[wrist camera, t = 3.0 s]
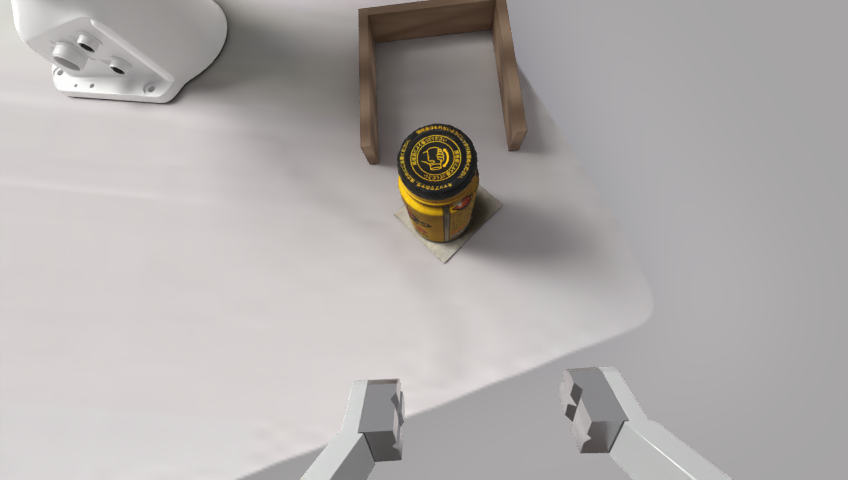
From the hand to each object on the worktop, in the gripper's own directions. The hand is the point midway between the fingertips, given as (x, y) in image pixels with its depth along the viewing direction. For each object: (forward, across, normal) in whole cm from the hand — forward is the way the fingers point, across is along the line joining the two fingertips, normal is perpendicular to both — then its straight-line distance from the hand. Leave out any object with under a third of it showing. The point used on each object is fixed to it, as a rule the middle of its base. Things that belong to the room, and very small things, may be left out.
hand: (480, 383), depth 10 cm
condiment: (+22, 0, +4) cm, 22 cm away
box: (+32, 0, -6) cm, 32 cm away
